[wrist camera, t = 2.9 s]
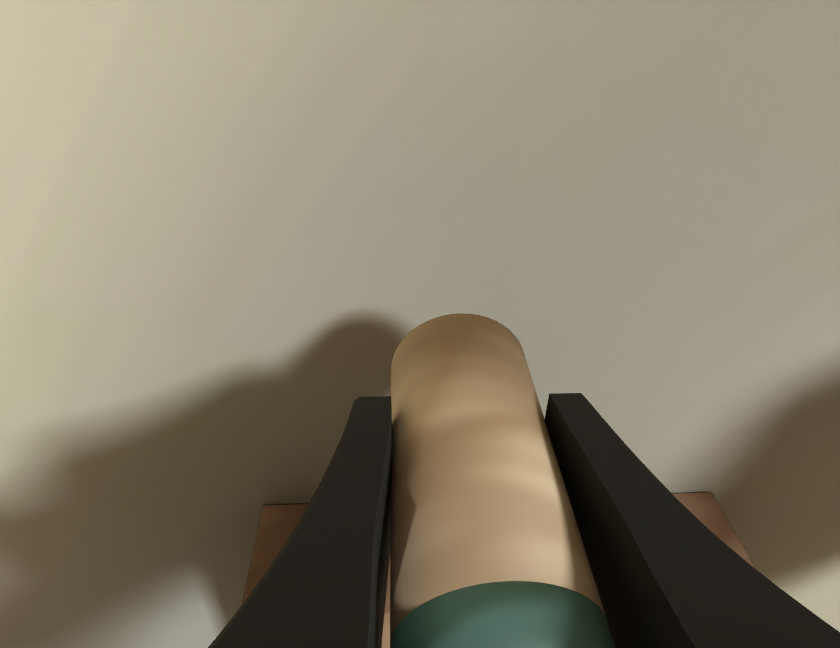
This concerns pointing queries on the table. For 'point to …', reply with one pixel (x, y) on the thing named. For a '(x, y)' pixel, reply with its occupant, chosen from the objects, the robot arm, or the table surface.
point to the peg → (480, 501)
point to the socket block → (284, 519)
